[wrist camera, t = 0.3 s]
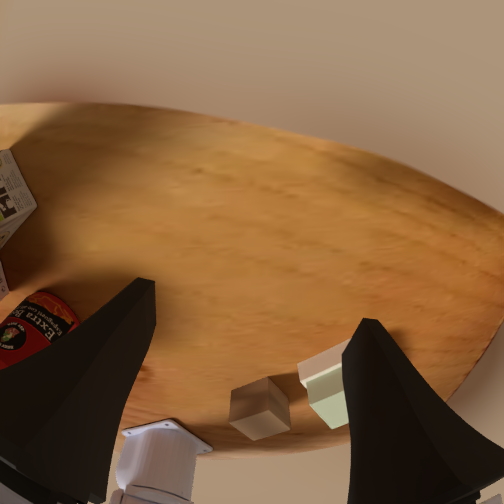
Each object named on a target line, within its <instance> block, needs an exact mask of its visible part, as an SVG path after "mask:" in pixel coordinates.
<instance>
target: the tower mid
mask: <svg viewBox="0 0 504 504" xmlns="http://www.w3.org/2000/svg"><path fill="white" fill-rule="evenodd" d="M306 386H307V393H308V399H309V405H310V406H311V407H312V408H313V409H314V411H315V412H316V413H317V414H318V415H319V416H320V417H321V418H322V419H323V420H324V421H325V422H326V423H327V425H328V426H329V427H330V428H331V429H334V428H337V427H340V426H342V425H345V424H347V423H349V420H348V414H347V407H346V401H345V394H344V388H343V381H342V366H341V367H339V368H337V369H335V370H332V371H330V372H328V373H326V374H324V375H321V376H319V377H317V378H315V379H312V380H310V381H308V382H306Z"/></svg>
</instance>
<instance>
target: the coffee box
mask: <svg viewBox="0 0 504 504" xmlns="http://www.w3.org/2000/svg"><path fill="white" fill-rule="evenodd" d="M36 207H37V204H36V202H35V200H34V198H33V196H32V194H31V192H30V191H29V189H28V187H27V185H26V183H25V181H24V179H23V177H22V175H21V173H20V170H19V168H18V166H17V164H16V162H15V160H14V158H13V155H12V153H11V151H10V150H9V149H4V150H1V151H0V249H1V248H2V247H3V246H4V244H5V243H6V242H7V241H8V239H9V238H10V237H11V236H12V235H13V233H14V232H15V231H16V230H17V229H18V228H19V226H20V225H21V224H22V223H23V222H24V221H25V220H26V218H27V217H28V216H29V215H30V214H31V213H32V212H33V211H34V210H35V209H36Z"/></svg>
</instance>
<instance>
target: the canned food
mask: <svg viewBox="0 0 504 504" xmlns="http://www.w3.org/2000/svg"><path fill="white" fill-rule="evenodd" d="M78 325H80V323H79V321H78V319H77V317H76V316H75V314H74V313H73V312H72V310H71V309H70V308H69V307H68V306H67V305H66V304H65V303H64V302H63V301H61V300H60V299H59V298H57V297H56V296H54V295H52V294H49V293H46V292H37V293H34V294H32V295H29V296H27V297H26V298H25V299H24V300H23V301H22V302H21V303H20V304H19V305H18V306H17V307H16V308H15V309H14V310H13V311H12V312H11V313H10V314H9V315H8V316H7V317H6V319H5V320H4V321H3V322H2V323H1V324H0V370H1V369H4V368H6V367H8V366H11V365H13V364H15V363H17V362H19V361H21V360H23V359H25V358H27V357H29V356H31V355H33V354H35V353H36V352H38V351H40V350H42V349H44V348H45V347H47V346H49V345H50V344H52V343H54V342H55V341H57V340H58V339H60V338H61V337H63V336H64V335H66V334H67V333H69V332H70V331H72V330H73V329H74V328H76V327H77V326H78Z"/></svg>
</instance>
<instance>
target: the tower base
mask: <svg viewBox="0 0 504 504" xmlns="http://www.w3.org/2000/svg"><path fill="white" fill-rule="evenodd" d="M350 340H351V338H350V339H348V340H346V341H344V342H342V343H340V344H338V345H336V346H334V347H332V348H330V349H328V350H326V351H324V352H322V353H320V354H317V355H315V356H313V357H311V358H309V359H307V360H305V361H302V362H300V363H298V364H297V365H298V372H299V379H300V382H301V383H302V384H303V385H304V387H305V388H306V389H307V386H306V382H308V381H310V380H312V379H315V378H317V377H319V376H321V375H324V374H326V373H328V372H330V371H332V370H335V369H337V368H339V367H341V366H342V355H341V354H342V353H343V351H344V350H345V348H346V346H347V345H348V343H349V341H350Z"/></svg>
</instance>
